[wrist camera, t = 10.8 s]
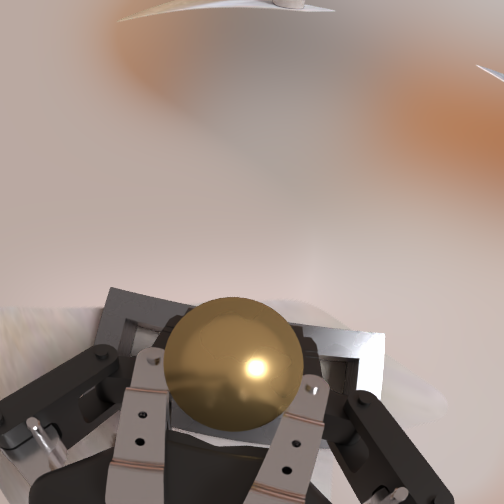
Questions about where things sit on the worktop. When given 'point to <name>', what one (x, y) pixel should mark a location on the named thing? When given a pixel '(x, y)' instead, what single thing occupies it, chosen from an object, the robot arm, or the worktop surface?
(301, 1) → the toilet tissue
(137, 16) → the worktop surface
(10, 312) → the worktop surface
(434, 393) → the worktop surface
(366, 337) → the grey flat frame
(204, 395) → the gold domed cylinder
